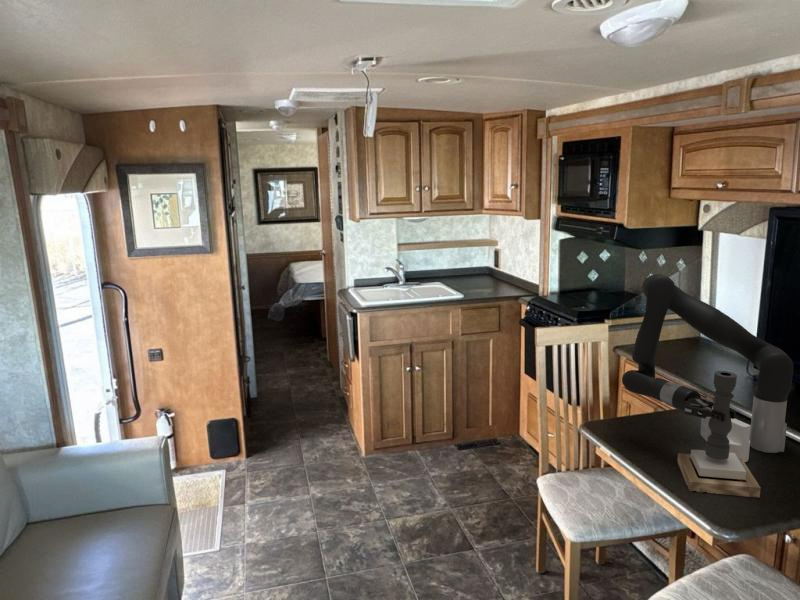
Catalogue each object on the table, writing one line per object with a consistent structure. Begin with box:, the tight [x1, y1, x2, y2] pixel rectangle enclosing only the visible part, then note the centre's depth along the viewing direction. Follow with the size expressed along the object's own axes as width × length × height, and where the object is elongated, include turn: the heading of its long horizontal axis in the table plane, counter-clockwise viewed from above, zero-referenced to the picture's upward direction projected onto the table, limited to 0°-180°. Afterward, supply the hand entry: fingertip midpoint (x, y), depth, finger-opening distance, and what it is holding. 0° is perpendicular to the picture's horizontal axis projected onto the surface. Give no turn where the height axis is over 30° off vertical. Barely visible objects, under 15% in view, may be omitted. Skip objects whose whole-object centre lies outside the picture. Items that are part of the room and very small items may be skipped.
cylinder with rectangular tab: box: [727, 418, 751, 464], centre depth 192 cm, size 9×9×12 cm
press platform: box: [690, 449, 746, 480], centre depth 179 cm, size 12×12×2 cm
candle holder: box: [704, 370, 738, 460], centre depth 176 cm, size 6×6×25 cm
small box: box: [700, 406, 713, 443], centre depth 205 cm, size 8×6×10 cm
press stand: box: [677, 452, 762, 499], centre depth 179 cm, size 18×18×3 cm
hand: (730, 416), depth 173 cm, fingers closed on candle holder, 3 cm apart
